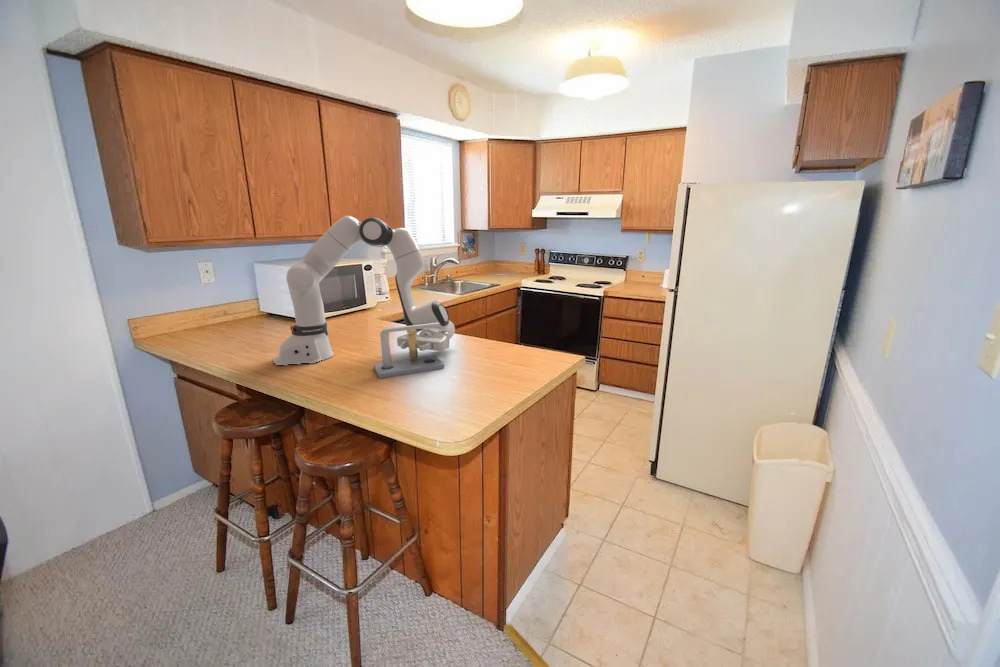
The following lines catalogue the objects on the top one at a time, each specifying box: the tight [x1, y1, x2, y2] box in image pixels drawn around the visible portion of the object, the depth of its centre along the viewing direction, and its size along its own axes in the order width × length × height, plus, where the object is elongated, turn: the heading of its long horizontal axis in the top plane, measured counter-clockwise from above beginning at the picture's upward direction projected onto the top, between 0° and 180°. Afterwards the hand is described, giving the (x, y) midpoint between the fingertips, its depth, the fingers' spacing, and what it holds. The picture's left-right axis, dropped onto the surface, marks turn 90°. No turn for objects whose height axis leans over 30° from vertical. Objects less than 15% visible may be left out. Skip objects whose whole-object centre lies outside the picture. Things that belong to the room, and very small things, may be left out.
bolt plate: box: [373, 323, 445, 379], centre depth 160 cm, size 24×12×16 cm, turn 114°
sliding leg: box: [406, 329, 419, 362], centre depth 161 cm, size 3×3×12 cm
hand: (411, 347), depth 160 cm, fingers open, 7 cm apart
